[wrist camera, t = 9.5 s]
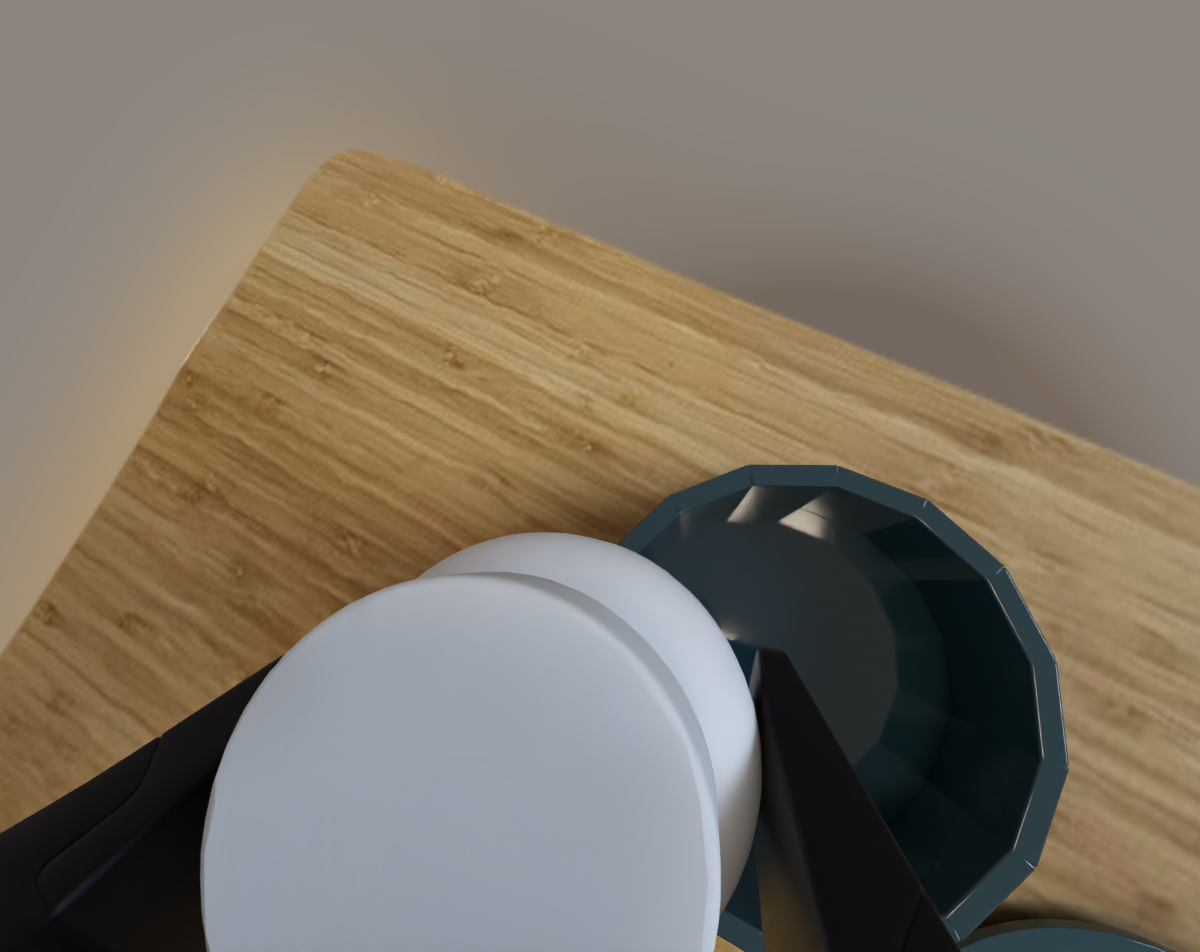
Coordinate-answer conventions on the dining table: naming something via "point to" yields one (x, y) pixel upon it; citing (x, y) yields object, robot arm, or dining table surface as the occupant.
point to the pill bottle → (491, 767)
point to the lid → (1055, 938)
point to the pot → (885, 665)
